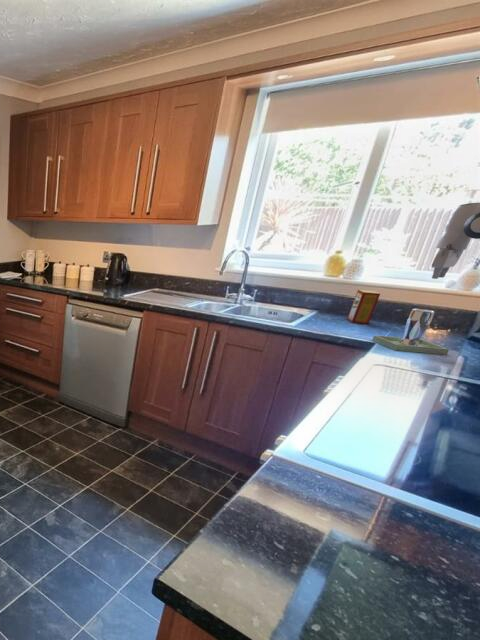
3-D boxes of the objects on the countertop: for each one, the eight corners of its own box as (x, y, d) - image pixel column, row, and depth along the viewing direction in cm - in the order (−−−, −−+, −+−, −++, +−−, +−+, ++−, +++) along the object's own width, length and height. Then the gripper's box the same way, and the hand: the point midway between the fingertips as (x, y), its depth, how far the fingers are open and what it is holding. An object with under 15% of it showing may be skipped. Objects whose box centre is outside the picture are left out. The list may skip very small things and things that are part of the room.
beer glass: (424, 347, 176) (440, 312, 170) (407, 347, 176) (423, 311, 170) (408, 343, 183) (423, 308, 177) (392, 342, 183) (407, 308, 177)
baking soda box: (346, 318, 228) (358, 289, 222) (362, 320, 225) (374, 290, 219) (352, 322, 220) (363, 291, 214) (368, 324, 218) (380, 293, 212)
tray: (419, 344, 184) (422, 339, 184) (446, 354, 170) (449, 349, 170) (372, 340, 188) (374, 335, 188) (394, 350, 174) (397, 344, 174)
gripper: (457, 245, 170) (441, 280, 176) (469, 244, 181) (454, 277, 186) (435, 244, 175) (420, 278, 181) (448, 243, 186) (434, 275, 191)
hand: (437, 278), depth 183 cm, fingers open, 8 cm apart
